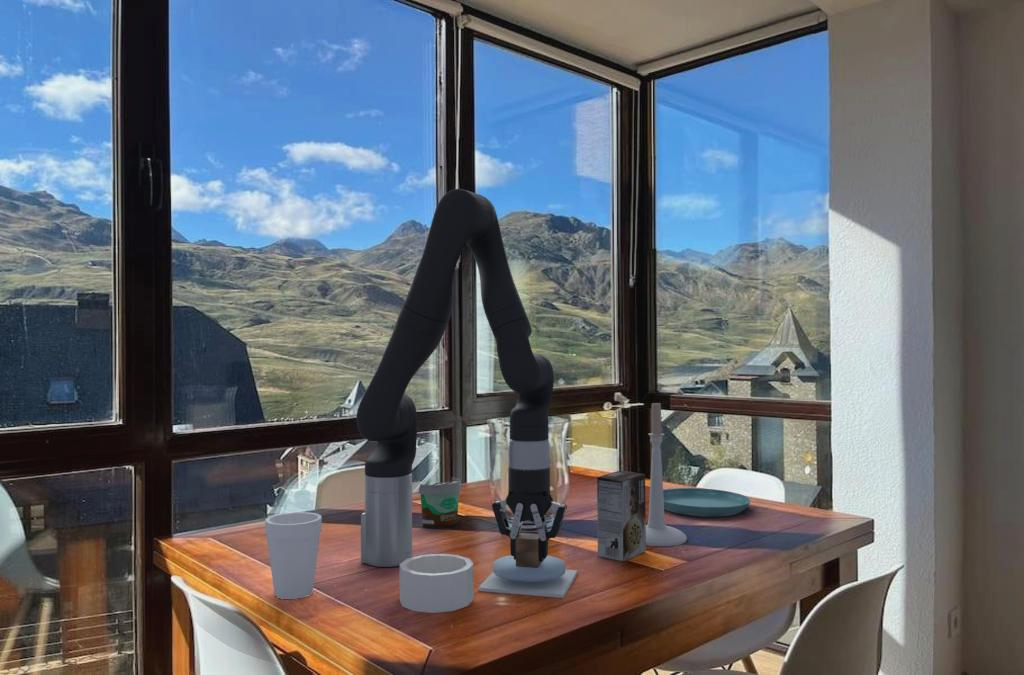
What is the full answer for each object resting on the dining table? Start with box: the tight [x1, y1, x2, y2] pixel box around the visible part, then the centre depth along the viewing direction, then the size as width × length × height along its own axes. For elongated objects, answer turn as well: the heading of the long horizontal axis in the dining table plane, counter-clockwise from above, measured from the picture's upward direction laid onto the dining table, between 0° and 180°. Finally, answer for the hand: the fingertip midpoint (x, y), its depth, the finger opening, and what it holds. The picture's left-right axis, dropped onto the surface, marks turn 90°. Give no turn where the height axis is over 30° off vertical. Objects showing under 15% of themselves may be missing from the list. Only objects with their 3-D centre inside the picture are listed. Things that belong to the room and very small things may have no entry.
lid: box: [492, 532, 566, 582], centre depth 139 cm, size 13×13×6 cm
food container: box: [418, 476, 463, 528], centre depth 182 cm, size 12×6×10 cm, turn 143°
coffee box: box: [596, 470, 647, 562], centre depth 157 cm, size 9×6×16 cm
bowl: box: [399, 553, 475, 614], centre depth 130 cm, size 12×12×6 cm
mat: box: [478, 568, 578, 599], centre depth 139 cm, size 15×14×1 cm
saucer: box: [663, 487, 751, 518], centre depth 199 cm, size 24×24×3 cm
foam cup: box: [264, 511, 323, 600], centre depth 133 cm, size 10×9×13 cm
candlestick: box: [646, 402, 688, 547], centre depth 169 cm, size 13×13×30 cm
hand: (529, 559), depth 139 cm, fingers closed on lid, 4 cm apart
